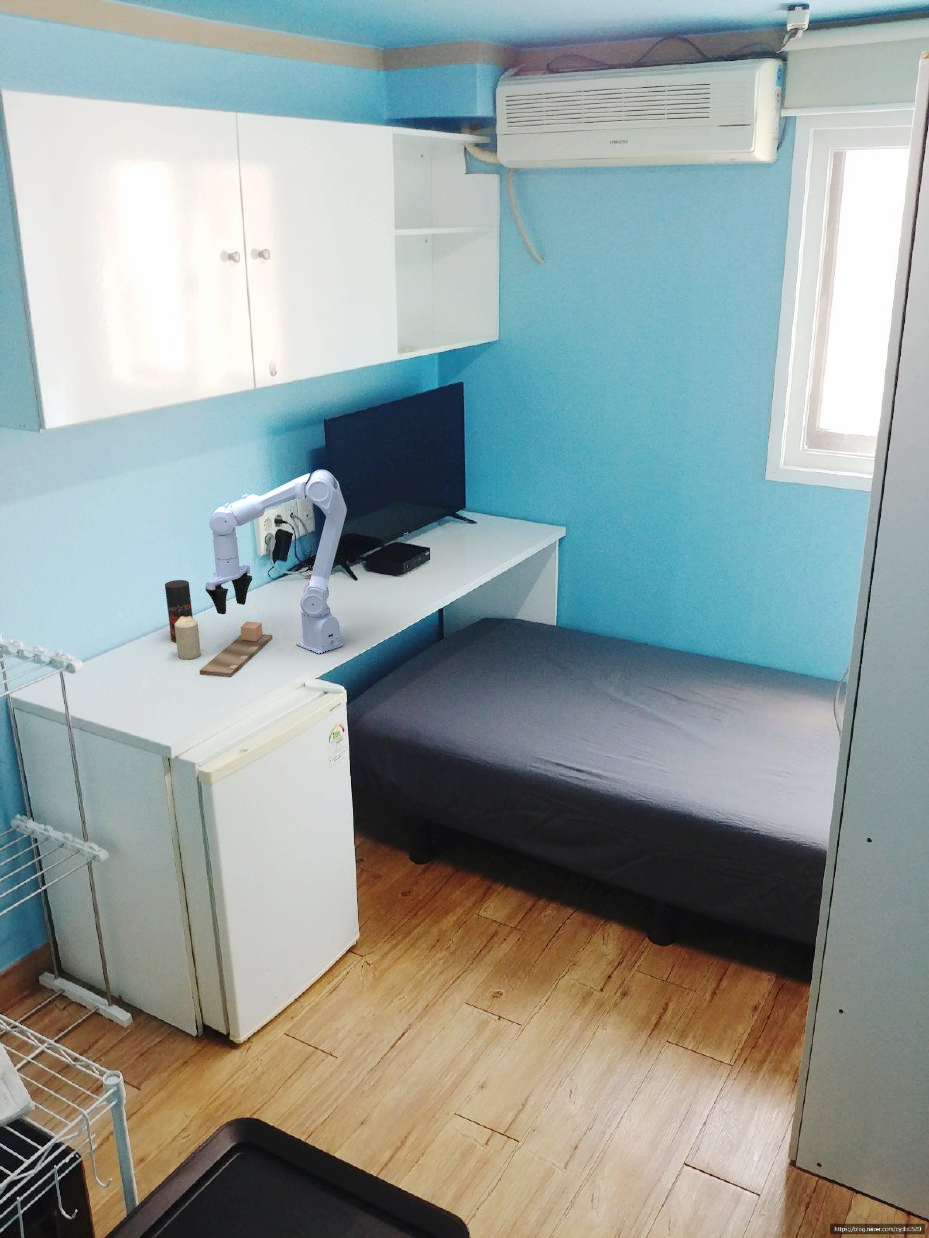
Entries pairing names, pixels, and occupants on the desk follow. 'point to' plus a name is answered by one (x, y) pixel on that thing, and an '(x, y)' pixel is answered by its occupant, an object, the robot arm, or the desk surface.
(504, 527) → the desk surface
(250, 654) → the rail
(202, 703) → the desk surface
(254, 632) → the peach colored cube
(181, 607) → the deodorant
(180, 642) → the candle
